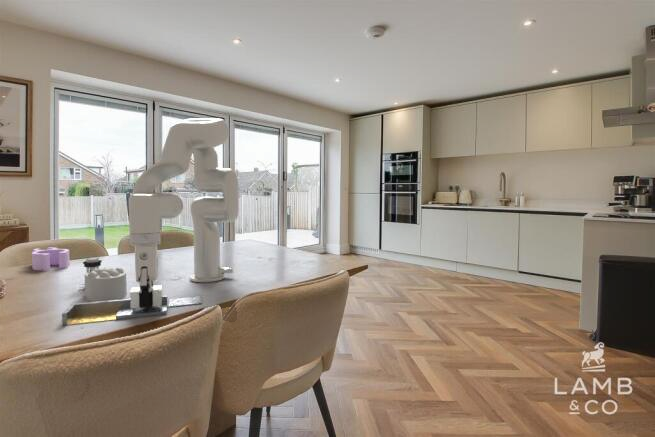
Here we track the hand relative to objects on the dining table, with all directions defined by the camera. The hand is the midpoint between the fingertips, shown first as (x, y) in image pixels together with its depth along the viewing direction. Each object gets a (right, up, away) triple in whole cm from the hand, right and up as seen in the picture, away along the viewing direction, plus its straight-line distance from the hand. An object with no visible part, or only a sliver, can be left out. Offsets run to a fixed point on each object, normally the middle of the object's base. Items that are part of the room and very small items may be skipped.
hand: (147, 303), depth 96 cm
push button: (-31, 0, +23) cm, 39 cm away
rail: (-6, -3, -2) cm, 7 cm away
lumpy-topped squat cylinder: (-20, -1, +14) cm, 24 cm away
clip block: (0, 0, 0) cm, 0 cm away
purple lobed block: (-70, +3, +54) cm, 89 cm away
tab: (+7, -2, +9) cm, 12 cm away
